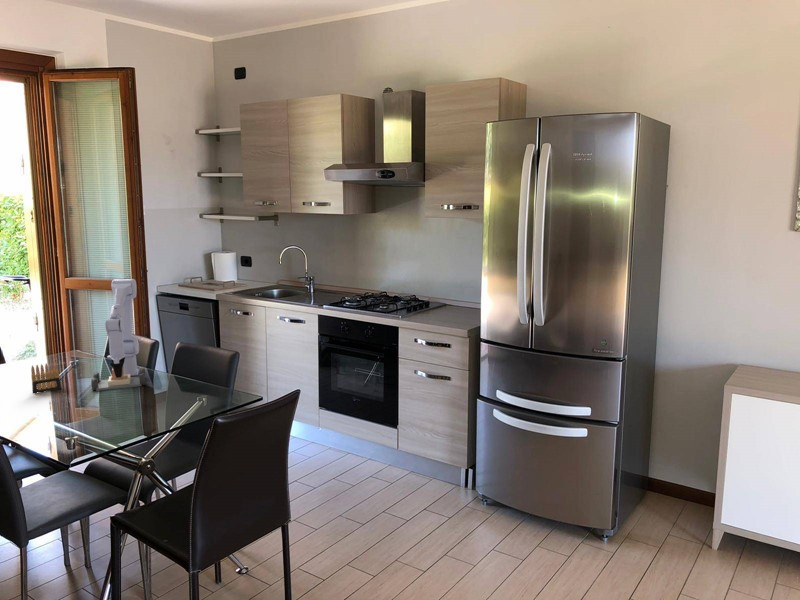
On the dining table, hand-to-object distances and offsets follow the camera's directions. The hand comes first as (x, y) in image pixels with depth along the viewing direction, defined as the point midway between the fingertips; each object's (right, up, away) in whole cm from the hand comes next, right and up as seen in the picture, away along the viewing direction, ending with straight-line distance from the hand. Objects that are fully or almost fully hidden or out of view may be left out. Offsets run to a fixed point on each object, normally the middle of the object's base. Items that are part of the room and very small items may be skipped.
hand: (119, 375), depth 291 cm
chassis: (0, -4, +1) cm, 4 cm away
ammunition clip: (-28, -6, -7) cm, 29 cm away
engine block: (0, -2, 0) cm, 2 cm away
